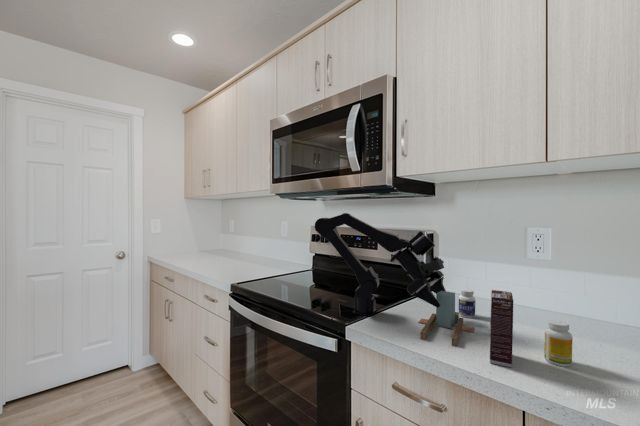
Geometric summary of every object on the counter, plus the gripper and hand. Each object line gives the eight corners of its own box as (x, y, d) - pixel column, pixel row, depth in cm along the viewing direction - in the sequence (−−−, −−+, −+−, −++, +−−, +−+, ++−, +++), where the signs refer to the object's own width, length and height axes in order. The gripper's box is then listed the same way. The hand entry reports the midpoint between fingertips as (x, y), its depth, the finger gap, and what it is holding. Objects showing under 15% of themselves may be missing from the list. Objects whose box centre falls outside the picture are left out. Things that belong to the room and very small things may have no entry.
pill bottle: (457, 316, 108) (458, 290, 108) (459, 312, 113) (459, 287, 113) (475, 319, 106) (475, 292, 106) (475, 314, 110) (475, 289, 110)
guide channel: (408, 336, 91) (408, 326, 91) (423, 315, 109) (423, 307, 109) (470, 349, 83) (470, 337, 83) (474, 324, 101) (475, 315, 101)
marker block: (436, 324, 99) (436, 293, 99) (440, 321, 103) (441, 290, 103) (450, 328, 97) (450, 295, 97) (454, 324, 100) (455, 292, 100)
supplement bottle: (538, 357, 79) (539, 318, 78) (559, 356, 79) (559, 318, 79) (556, 367, 73) (556, 326, 73) (578, 367, 73) (578, 326, 73)
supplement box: (513, 368, 73) (514, 300, 72) (489, 363, 75) (490, 297, 75) (511, 353, 80) (512, 291, 80) (489, 349, 82) (490, 289, 82)
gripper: (417, 252, 96) (454, 294, 89) (438, 247, 110) (471, 283, 103) (392, 274, 101) (426, 316, 94) (416, 266, 115) (446, 302, 108)
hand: (444, 303), depth 100 cm, fingers open, 9 cm apart
